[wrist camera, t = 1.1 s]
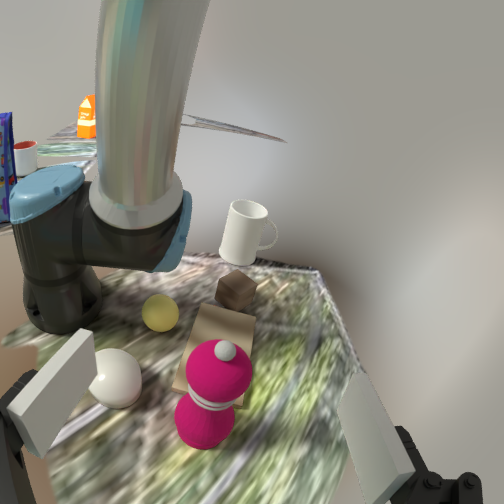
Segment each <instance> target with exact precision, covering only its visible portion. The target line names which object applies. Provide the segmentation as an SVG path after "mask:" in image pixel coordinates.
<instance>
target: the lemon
mask: <svg viewBox="0 0 504 504" xmlns="http://www.w3.org/2000/svg"><path fill="white" fill-rule="evenodd" d="M142 318H143V321H144V322H145V324H146V325H147V326H148V327H149V328H150V329H152V330H154V331H157V332H165V331H168V330H170V329H172V328H173V327H174V326H175V324H176V323H177V321H178V318H179V310H178V307H177V304H176V303H175V301H174V300H173V299H172V298H170V297H169V296H166V295H163V294H157V295H153V296H151V297H149V298H148V299H147V300H146V301H145V303H144V305H143V307H142Z"/></svg>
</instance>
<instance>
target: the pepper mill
mask: <svg viewBox="0 0 504 504" xmlns="http://www.w3.org/2000/svg"><path fill="white" fill-rule="evenodd" d="M185 371H186V378H187V381H188V390H189V392H188V393H187V394H186V395H184V396H183V397H182V398H181V400H180V401H179V402H178V404H177V407H176V410H175V416H174V418H175V424H176V426H177V429H178V433H179V436H180V437H181V439H182V440H183V441H184V442H185V443H186V444H187V445H189V446H191V447H193V448H196V449H210V448H212V447H215V446H216V445H218V444H219V443H220V442H221V441H222V440H224V439H225V438H226V437H227V436H228V435H229V434H230V432H231V430H232V428H233V425H234V420H235V415H234V410H233V407H232V404H234V402H235V401H236V399H237V398H239V397H240V396H241V395H242V394H243V393H244V392H245V391H246V390H247V388H248V387H249V384H250V382H251V378H252V365H251V361H250V359H249V357H248V355H247V354H246V352H245V351H244V350H243V349H242V348H241V347H239V346H238V345H236V344H234V343H232V342H230V341H228V340H222V339H214V340H208V341H205V342H203V343H201V344H200V345H198V346H197V347H196V348H195V349H194V350H193V351H192V352H191V354H190V355H189V357H188V360H187V363H186V370H185Z"/></svg>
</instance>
